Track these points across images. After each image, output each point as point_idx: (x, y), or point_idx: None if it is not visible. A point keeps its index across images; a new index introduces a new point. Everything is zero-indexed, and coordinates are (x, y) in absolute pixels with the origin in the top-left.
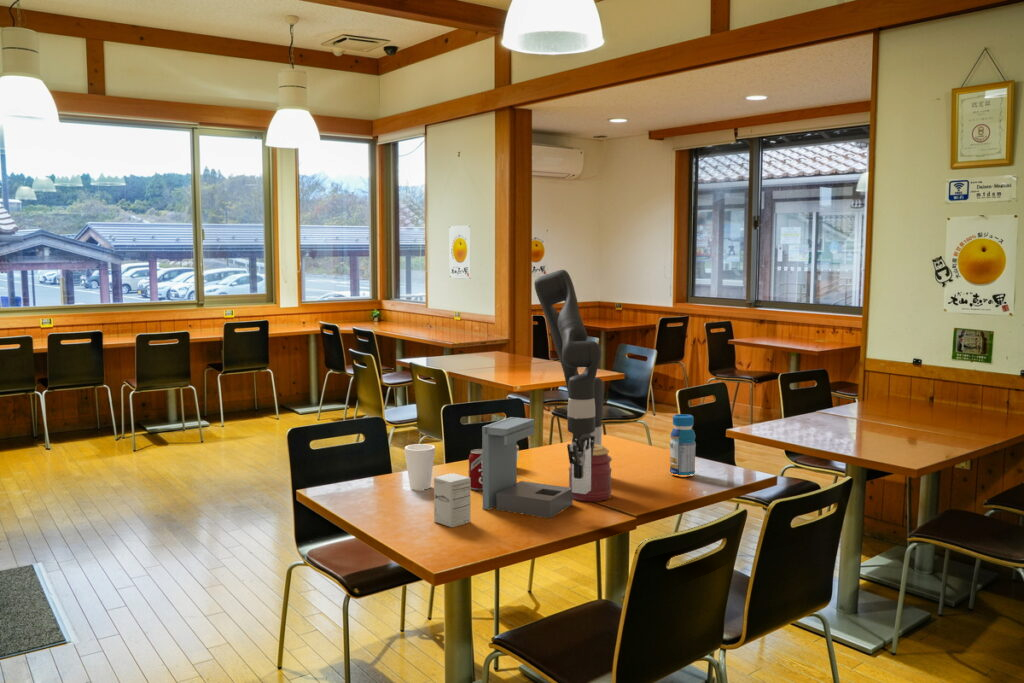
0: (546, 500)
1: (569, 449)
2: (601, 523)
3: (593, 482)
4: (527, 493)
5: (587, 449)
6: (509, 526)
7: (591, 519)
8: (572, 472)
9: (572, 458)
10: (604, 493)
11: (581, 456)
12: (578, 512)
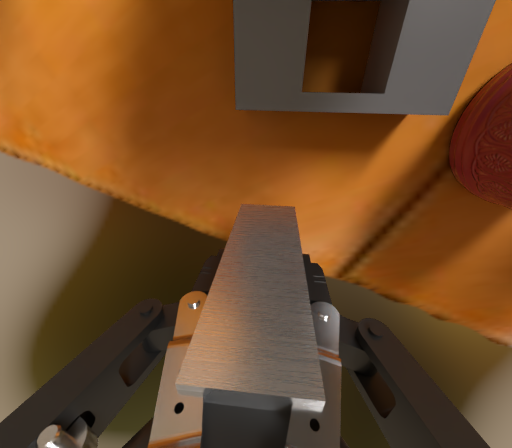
0: (236, 92)
1: (12, 430)
2: None
3: (502, 183)
4: None
5: None
6: (107, 15)
7: None
8: (226, 249)
9: (145, 335)
10: (480, 197)
11: None
12: (331, 161)
